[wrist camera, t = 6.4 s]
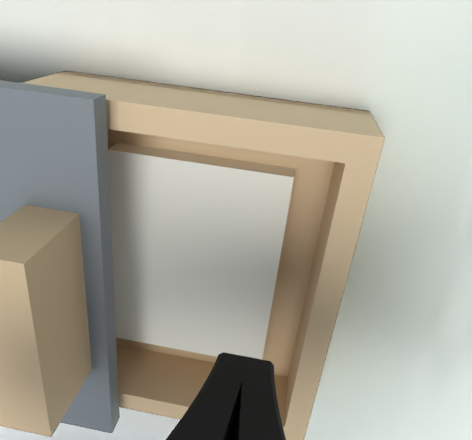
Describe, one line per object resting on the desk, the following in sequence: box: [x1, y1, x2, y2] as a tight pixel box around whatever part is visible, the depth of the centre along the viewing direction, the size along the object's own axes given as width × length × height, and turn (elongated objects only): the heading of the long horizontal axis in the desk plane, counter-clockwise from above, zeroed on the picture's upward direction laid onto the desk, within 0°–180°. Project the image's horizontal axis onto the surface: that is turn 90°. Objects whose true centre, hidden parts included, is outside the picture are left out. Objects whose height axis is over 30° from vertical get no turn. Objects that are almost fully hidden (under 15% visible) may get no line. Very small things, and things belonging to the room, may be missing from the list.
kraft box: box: [22, 71, 385, 440], centre depth 15 cm, size 12×10×3 cm
